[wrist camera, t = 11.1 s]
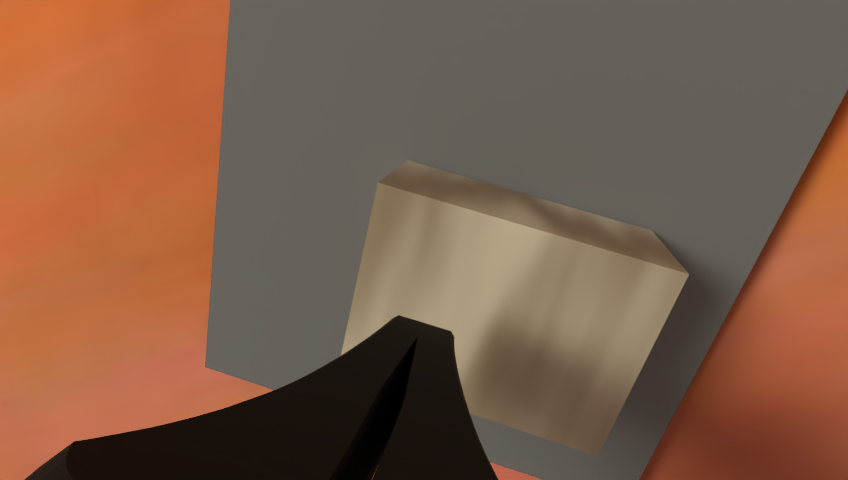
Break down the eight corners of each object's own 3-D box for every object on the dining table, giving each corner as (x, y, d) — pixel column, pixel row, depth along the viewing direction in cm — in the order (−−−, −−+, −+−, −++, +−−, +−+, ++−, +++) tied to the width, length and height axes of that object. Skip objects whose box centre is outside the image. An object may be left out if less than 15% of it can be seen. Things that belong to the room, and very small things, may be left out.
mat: (921, -78, 12) (941, -86, 11) (621, 494, 19) (624, 506, 18) (256, -208, 14) (245, -220, 13) (213, 359, 21) (205, 366, 20)
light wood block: (408, 159, 16) (650, 229, 15) (372, 313, 18) (582, 380, 17) (377, 182, 12) (689, 274, 11) (337, 368, 14) (597, 456, 14)
